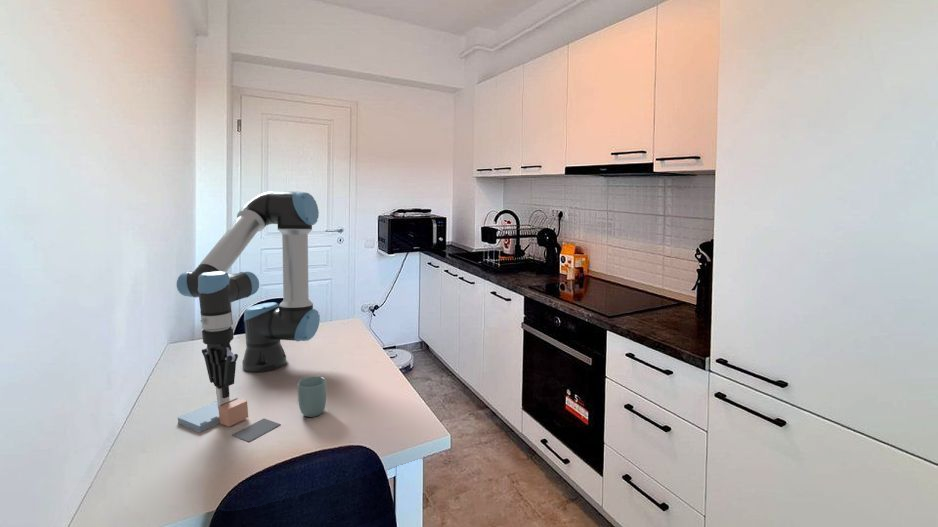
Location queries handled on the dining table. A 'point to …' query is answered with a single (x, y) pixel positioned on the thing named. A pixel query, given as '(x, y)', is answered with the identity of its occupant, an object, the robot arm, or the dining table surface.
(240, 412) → the stub
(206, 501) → the dining table surface
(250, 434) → the mat
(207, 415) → the board
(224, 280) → the robot arm
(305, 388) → the cup
